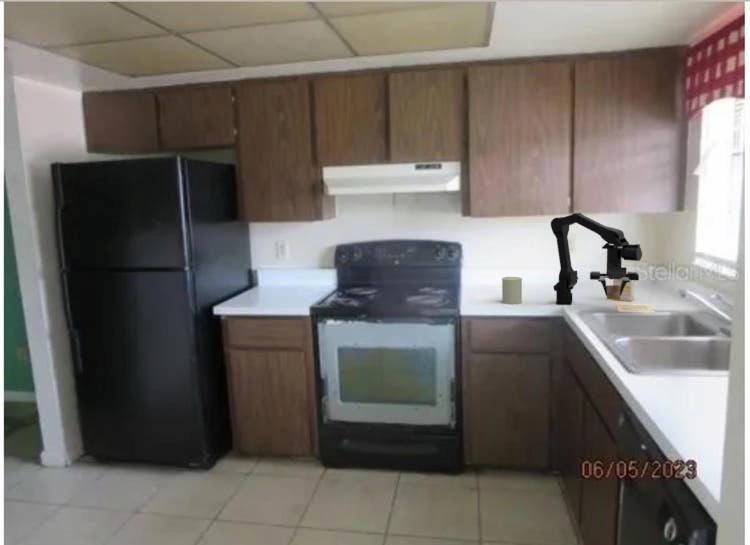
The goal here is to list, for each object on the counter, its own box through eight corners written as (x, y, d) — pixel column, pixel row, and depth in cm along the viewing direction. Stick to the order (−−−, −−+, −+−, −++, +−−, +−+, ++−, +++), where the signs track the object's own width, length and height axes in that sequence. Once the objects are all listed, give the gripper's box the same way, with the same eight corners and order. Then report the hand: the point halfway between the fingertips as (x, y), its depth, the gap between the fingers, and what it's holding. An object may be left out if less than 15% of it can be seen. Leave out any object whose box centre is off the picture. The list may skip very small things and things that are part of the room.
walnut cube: (607, 299, 225) (606, 287, 224) (606, 296, 230) (606, 285, 229) (620, 298, 223) (619, 287, 223) (619, 296, 228) (619, 285, 227)
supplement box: (634, 300, 244) (635, 272, 243) (631, 302, 241) (632, 273, 239) (615, 298, 250) (616, 270, 248) (612, 300, 246) (613, 272, 244)
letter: (618, 311, 223) (618, 311, 223) (615, 304, 238) (615, 303, 238) (655, 313, 218) (655, 312, 218) (650, 305, 233) (650, 304, 233)
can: (508, 299, 257) (508, 275, 256) (525, 301, 251) (525, 276, 249) (498, 302, 251) (498, 277, 249) (515, 305, 244) (515, 279, 243)
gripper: (590, 261, 220) (590, 298, 222) (640, 262, 213) (639, 300, 216) (590, 258, 230) (589, 293, 232) (637, 258, 224) (636, 295, 226)
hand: (613, 295), depth 226 cm, fingers closed on walnut cube, 5 cm apart
